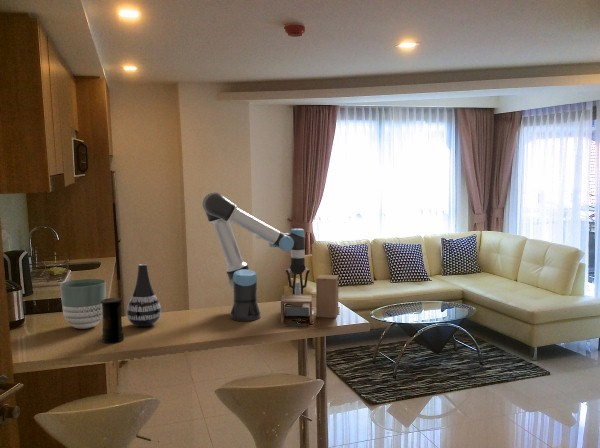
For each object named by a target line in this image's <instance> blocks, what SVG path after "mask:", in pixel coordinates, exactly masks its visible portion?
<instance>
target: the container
mask: <svg viewBox="0 0 600 448" xmlns="http://www.w3.org/2000/svg"><path fill="white" fill-rule="evenodd" d="M101 303H102V308H103V309H102V315H103V318H102V336H101V342H102V344H107V345H108V344H117V343H118V344H119V343H121V342H123V341H124V333H123V326H122V325H123V323H122V322H123V321H122V298H121V297H108V298H106V299H103V300H102V301H101Z"/></svg>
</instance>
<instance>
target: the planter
mask: <svg viewBox="0 0 600 448" xmlns="http://www.w3.org/2000/svg"><path fill="white" fill-rule="evenodd" d="M59 288H60V297H61V305H62V312H63V313H62V314H63V316H64V318H65V319H64V320H65V321H66V322H67V323H68V324H69V325H70V326H71V327H73V328H74V329H75V328H76V329H79V330H85V329H90V328H94V327H95V326H97V325H98V324H99V323H100V322H101V321H102V320H103V315H102V309H103V308H102V303H101V301H102V300H103V299H107V298H106V297H107V296H106V293H107V292H106V290H107V289H106V288H107V281H106V280H105V279H102V278H81V279H72V280H67V281H64V282H61V283H60V284H59Z"/></svg>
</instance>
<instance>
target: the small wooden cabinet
mask: <svg viewBox="0 0 600 448" xmlns="http://www.w3.org/2000/svg"><path fill="white" fill-rule="evenodd" d="M295 288H296V295H300V291H299V289H300V288H301V285H300V280H296V282H295ZM298 316H299V317H309V318H310V305H303V307H286V306H284V318H285V317H298Z"/></svg>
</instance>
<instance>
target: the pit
mask: <svg viewBox="0 0 600 448" xmlns="http://www.w3.org/2000/svg"><path fill="white" fill-rule="evenodd" d="M301 323H302V322H301ZM301 323H300V322H298V323H296V322H295V323H293V322H292V323H291V322H290V323H287V322H286V323H285V327H287V328H288V327H291V328H294V327H297V328H300V327H301V328H303V327H306V328H307V326H308V325H307V324H308V323H307V322H306V324H301Z"/></svg>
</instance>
